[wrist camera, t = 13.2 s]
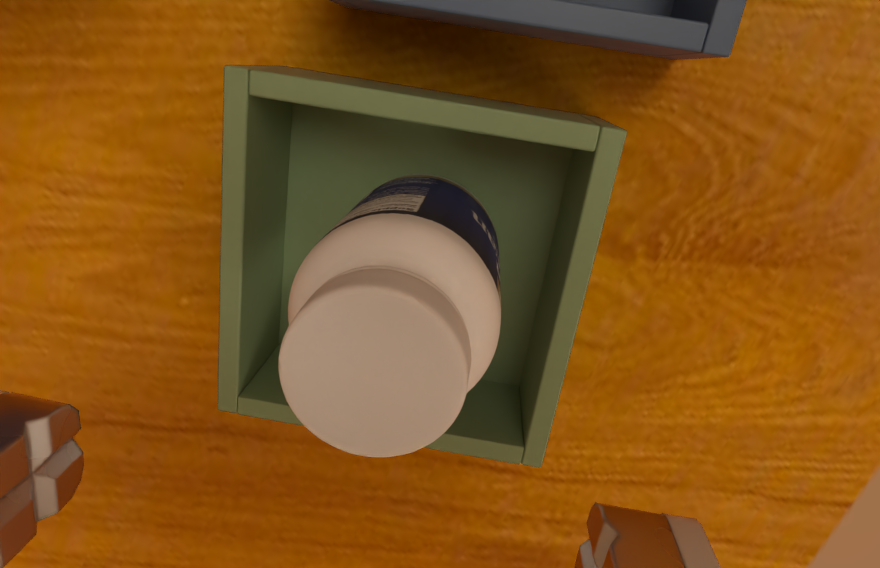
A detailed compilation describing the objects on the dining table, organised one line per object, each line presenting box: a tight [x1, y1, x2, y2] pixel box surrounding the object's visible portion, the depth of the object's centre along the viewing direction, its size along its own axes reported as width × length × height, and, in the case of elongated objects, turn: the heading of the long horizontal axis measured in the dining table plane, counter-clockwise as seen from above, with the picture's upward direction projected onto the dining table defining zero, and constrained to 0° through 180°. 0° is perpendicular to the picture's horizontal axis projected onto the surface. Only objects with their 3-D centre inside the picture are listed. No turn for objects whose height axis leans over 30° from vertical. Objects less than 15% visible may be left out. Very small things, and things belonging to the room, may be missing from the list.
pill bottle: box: [278, 174, 501, 457], centre depth 17 cm, size 5×5×10 cm
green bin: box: [218, 65, 627, 468], centre depth 20 cm, size 11×11×5 cm
